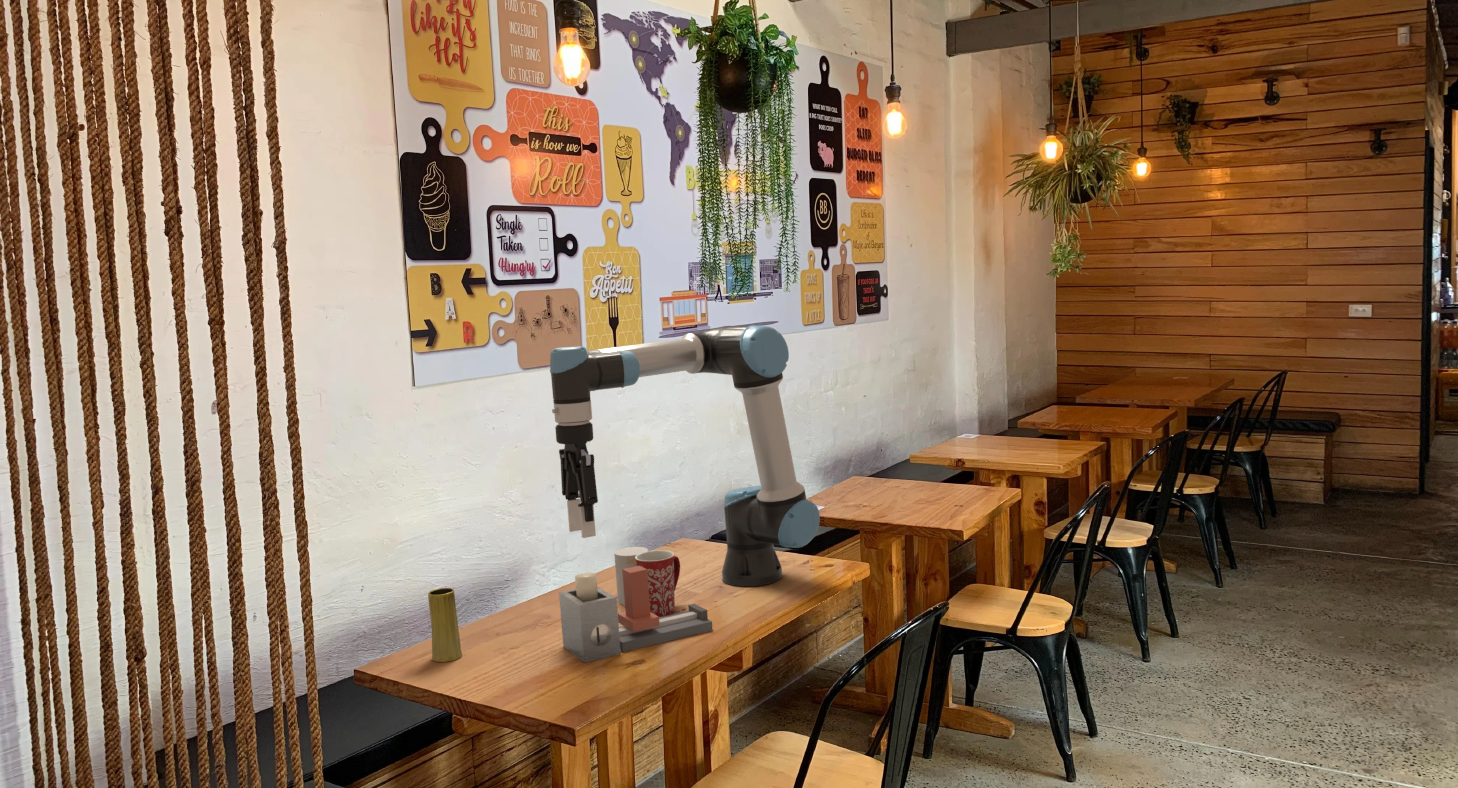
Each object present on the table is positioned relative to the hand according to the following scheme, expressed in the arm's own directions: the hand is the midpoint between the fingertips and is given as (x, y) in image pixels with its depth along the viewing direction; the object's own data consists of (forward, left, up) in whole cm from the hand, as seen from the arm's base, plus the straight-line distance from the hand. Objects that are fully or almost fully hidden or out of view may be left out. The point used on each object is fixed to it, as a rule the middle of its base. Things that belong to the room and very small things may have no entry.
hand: (582, 533), depth 220 cm
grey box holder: (0, 0, -25) cm, 25 cm away
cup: (-22, -27, -25) cm, 43 cm away
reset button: (0, 0, -14) cm, 14 cm away
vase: (+26, -16, -25) cm, 40 cm away
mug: (-24, -15, -25) cm, 38 cm away
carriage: (-11, 0, -22) cm, 24 cm away
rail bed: (-16, 0, -25) cm, 29 cm away
